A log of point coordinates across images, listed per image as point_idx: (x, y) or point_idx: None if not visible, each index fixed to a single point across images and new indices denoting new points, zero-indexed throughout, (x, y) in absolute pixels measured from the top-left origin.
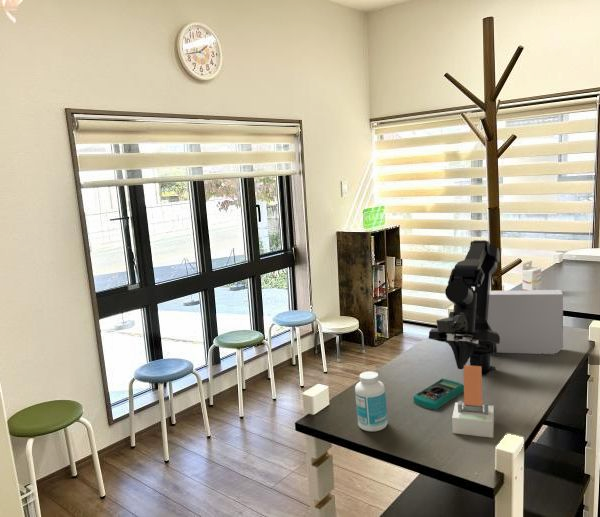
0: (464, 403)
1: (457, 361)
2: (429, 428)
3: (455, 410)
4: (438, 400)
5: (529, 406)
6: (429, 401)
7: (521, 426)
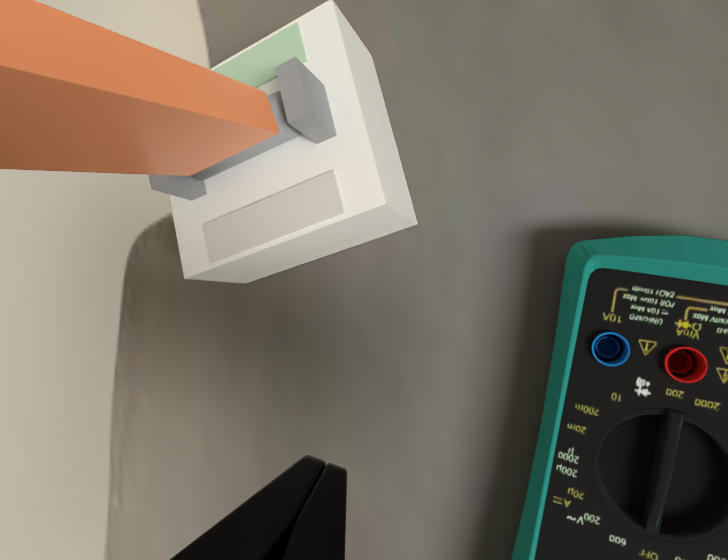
0: (258, 90)
1: (309, 546)
2: (504, 16)
3: (344, 93)
4: (570, 288)
5: (156, 502)
6: (637, 243)
7: (151, 291)
